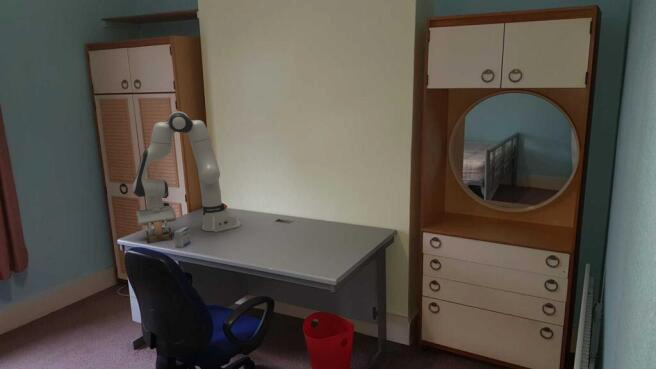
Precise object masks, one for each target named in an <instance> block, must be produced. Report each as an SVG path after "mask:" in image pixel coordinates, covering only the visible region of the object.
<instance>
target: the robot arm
mask: <svg viewBox="0 0 656 369" xmlns="http://www.w3.org/2000/svg"><path fill="white" fill-rule="evenodd" d="M151 132H152V133H151V138H150V144H149V146H148V148H147V149H146V150H144V151H143V153H142V154H141V157H140V158H141V159H140V161H139V165H138V169H137V172H136V176H135V179H134V181H133V185H132V193H133V194H134V195H135V196H136V197H138V198H143V197H145V200H146V209H140V210H138V211H136V214H135V215H136V217H137V224H138V226H139V227H143V226H148V227H149V228H150V229H151V232H154V226H153V225H154V224H153V222H156V221H162V226H163V229H166V230H167V225H168V223H171V222H176V220H177V216H176V215H177V214H176V211H175V209H174V207H173V205H172V203H171V202H164V201H163V199H164V198H165V197H166V196H167V195H168V194H169V184H168V183H167V181H166V180H165V179H155V178H154V179H151V178H150V179H149V178H146V174H147V171H148V167H149V165H151V163H153V162H154V161H158V160H161V159H164V158H166V157H167V156H169V155H170V153H171V152H172V145H173V137H174V135H175V133H184V134H185V133H186V134H187V136H188V138H189V142H190V145H191V149H192V153H193V156H194V159H195V163H196V168H197V173H198V180H199V187H200V194H201V195H200V196H201V203H202V205H201V213H202V226H201V227H202V228H201V229H202V230H203V231H206V232H214V233H217V232H222V231H227V230H231V229H236V228H239V227H241V226H242V223H241V221H240V220H238V219H237V216H236V215H235V214H234V213H233V212H232V211H230V210H228V209H227V208H228V205H227V204H225V203H223V202H222V192H221V186H220V181H219V180H220V177H221V172H220V167H219V164H218V161H217V159H216V158H217V157H216V155H215V151H214V147H213V144H212V141H211V138H210V133H209V131H208V128H207V126H206V124H205V122H204V121H202V120H201V119H200V120H199V119H195V120H194V119H193V120H191V118H190V116H188V114H186V113H185V112H184V111H182V110H181V111H178V110H177V111H174V112H171V114H170V115H169V117H168V119H167V120H166V121H158V122H156V123H155V124H154V125H153V128H152V131H151ZM165 227H166V228H165Z"/></svg>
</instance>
